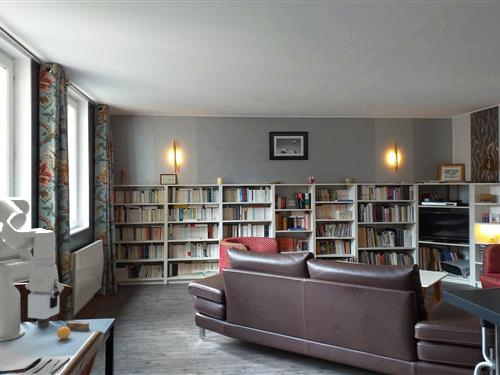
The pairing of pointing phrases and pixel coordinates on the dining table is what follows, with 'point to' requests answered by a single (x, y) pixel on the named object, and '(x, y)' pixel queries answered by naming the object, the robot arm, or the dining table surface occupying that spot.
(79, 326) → the rail
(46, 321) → the beverage cup
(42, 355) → the dining table surface
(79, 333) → the dining table surface
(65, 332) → the ball
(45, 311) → the white squarish block
